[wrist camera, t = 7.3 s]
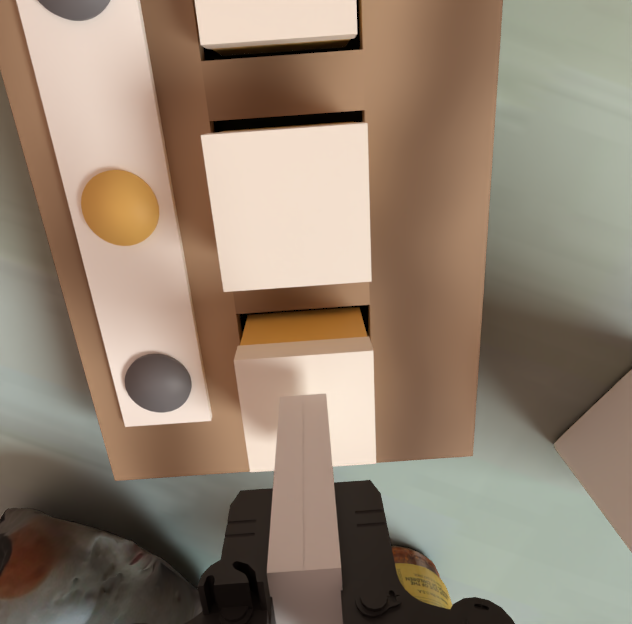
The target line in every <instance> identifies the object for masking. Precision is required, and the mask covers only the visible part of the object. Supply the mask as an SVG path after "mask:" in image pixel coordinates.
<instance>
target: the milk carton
mask: <svg viewBox="0 0 632 624" xmlns="http://www.w3.org/2000/svg"><path fill="white" fill-rule="evenodd" d="M554 448H555V449H556V451H557V452H558V453H559V455H560V456H561V457H562V459H563V460H564V462H565V463H566V464H567V466H568V467H569V468H570V470H571V471H572V472H573V474H574V475H575V476H576V478H577V479H578V480H579V482H580V483H581V485H582V486H583V487H584V489H585V490H586V491H587V493H588V494H589V495H590V497H591V498H592V499H593V501H594V502H595V503H596V505H597V506H598V508H599V509H600V510H601V512H602V513H603V514H604V516H605V517H606V518H607V520H608V521H609V522H610V524H611V525H612V527H613V528H614V529H615V531H616V532H617V533H618V535H619V536H620V537H621V539H622V540H623V541H624V543H625V544H626V545H627V547H628V548H629V550H630V551H631V552H632V369H631V370H630V371H629V372H628V373H627V374H626V375H625V376H624V377H623V378H622V379H621V380H620V381H619V382H617V383H616V384H615V385H614V386H613V387H612V388H611V389H610V390H609V391H608V392H607V393H606V394H605V395H604V396H603V397H602V398H601V399H600V400H599V401H598V402H596V403H595V404H594V405H593V406H592V407H591V408H590V409H589V410H588V411H587V412H586V413H585V414H584V415H583V416H582V417H581V418H580V419H579V420H578V421H577V422H576V423H574V424H573V425H572V426H571V427H570V428H569V429H568V430H567V431H566V432H565V433H564V434H563V435H562V436H561V437H560V438H559V439H558V440H557V441H556V442H555V443H554Z"/></svg>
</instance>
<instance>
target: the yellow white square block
mask: <svg viewBox="0 0 632 624" xmlns="http://www.w3.org/2000/svg"><path fill="white" fill-rule="evenodd" d="M195 7H196V15H197V22H198V29H199V36H200V44H201V46H203V47H205V48H206V49H212V50H214V51H215V52H217V53H219V54H220V55H222V56H232V55H246V54H259V53H273V52H287V51H301V50H314V49H328V48H342V47H346V45H347V44H348V42H349V41H350V39H354V38H355V36H356V35H357V5H356V0H195Z"/></svg>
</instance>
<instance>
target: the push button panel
mask: <svg viewBox="0 0 632 624" xmlns="http://www.w3.org/2000/svg"><path fill="white" fill-rule="evenodd" d="M16 2H17V6H18V10H19V13H20V17H21V21H22V25H23V29H24V33H25V37H26V41H27V45H28V49H29V53H30V57H31V60H32V64H33V68H34V72H35V76H36V80H37V84H38V88H39V92H40V96H41V100H42V103H43V107H44V111H45V115H46V119H47V123H48V127H49V131H50V135H51V139H52V143H53V146H54V150H55V154H56V158H57V162H58V166H59V170H60V174H61V178H62V182H63V186H64V190H65V193H66V197H67V201H68V205H69V209H70V213H71V217H72V221H73V225H74V229H75V233H76V236H77V240H78V244H79V248H80V252H81V256H82V260H83V264H84V268H85V272H86V276H87V279H88V283H89V287H90V291H91V295H92V299H93V303H94V307H95V311H96V315H97V319H98V323H99V326H100V330H101V334H102V338H103V342H104V346H105V350H106V354H107V358H108V362H109V366H110V369H111V373H112V377H113V381H114V385H115V389H116V393H117V397H118V401H119V405H120V409H121V412H122V416H123V420H124V424H125V427H132V426H146V425H160V424H175V423H189V422H203V421H211V419H212V412H211V407H210V401H209V395H208V389H207V384H206V378H205V372H204V366H203V361H202V355H201V349H200V343H199V338H198V332H197V326H196V320H195V315H194V309H193V303H192V297H191V292H190V286H189V280H188V274H187V269H186V263H185V257H184V251H183V246H182V240H181V234H180V228H179V223H178V217H177V211H176V205H175V200H174V194H173V188H172V182H171V177H170V171H169V165H168V159H167V154H166V148H165V142H164V136H163V131H162V125H161V119H160V113H159V108H158V102H157V96H156V90H155V85H154V79H153V73H152V67H151V62H150V56H149V50H148V44H147V39H146V33H145V27H144V21H143V16H142V10H141V4H140V0H16Z"/></svg>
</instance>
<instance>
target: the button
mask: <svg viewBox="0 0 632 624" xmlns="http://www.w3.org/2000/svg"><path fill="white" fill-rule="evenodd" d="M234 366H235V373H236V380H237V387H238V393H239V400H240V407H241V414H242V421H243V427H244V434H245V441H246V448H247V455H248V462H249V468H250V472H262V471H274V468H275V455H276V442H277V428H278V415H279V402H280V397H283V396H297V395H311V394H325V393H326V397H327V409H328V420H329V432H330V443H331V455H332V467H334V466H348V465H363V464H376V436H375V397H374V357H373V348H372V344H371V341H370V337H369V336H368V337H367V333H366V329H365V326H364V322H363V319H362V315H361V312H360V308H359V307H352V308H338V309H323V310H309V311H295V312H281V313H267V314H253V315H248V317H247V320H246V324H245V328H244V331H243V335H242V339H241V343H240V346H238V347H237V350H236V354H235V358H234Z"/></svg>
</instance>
